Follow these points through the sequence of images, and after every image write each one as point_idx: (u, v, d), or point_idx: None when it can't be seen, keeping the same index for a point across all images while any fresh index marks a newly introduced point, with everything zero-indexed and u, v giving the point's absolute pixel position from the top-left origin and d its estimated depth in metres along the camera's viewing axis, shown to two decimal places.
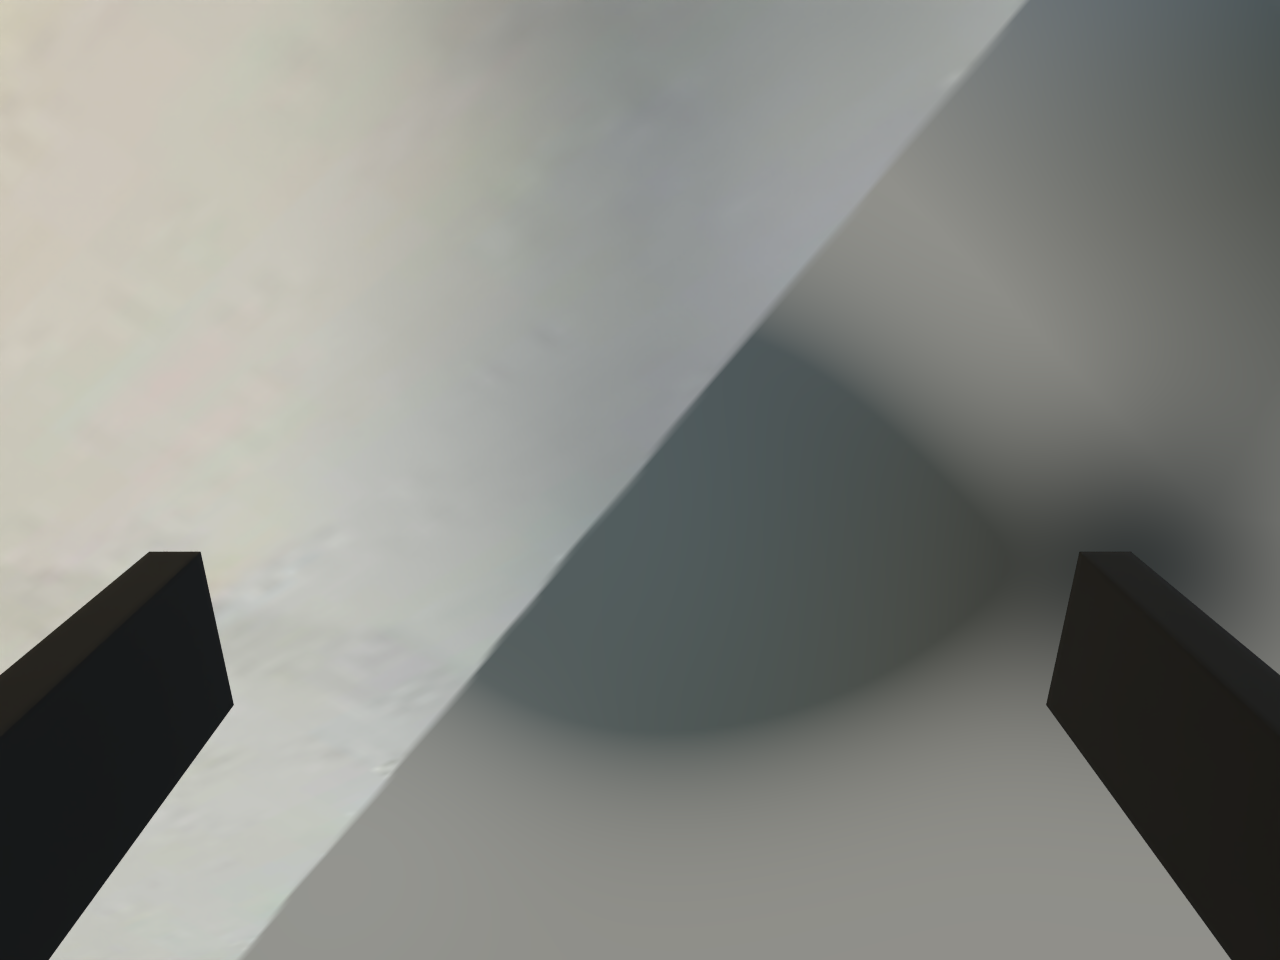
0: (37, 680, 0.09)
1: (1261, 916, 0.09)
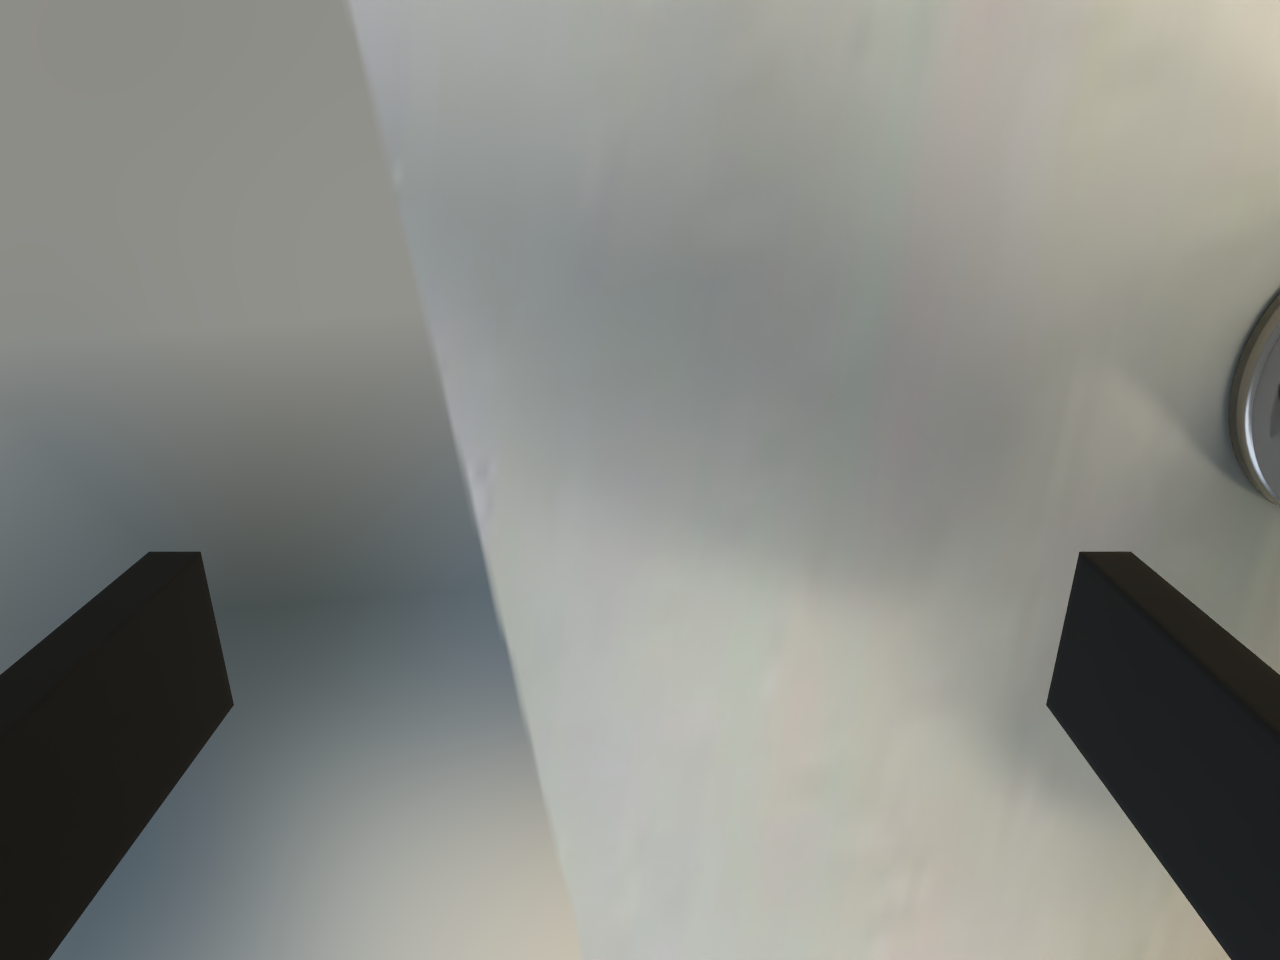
0: (37, 680, 0.09)
1: (1261, 917, 0.09)
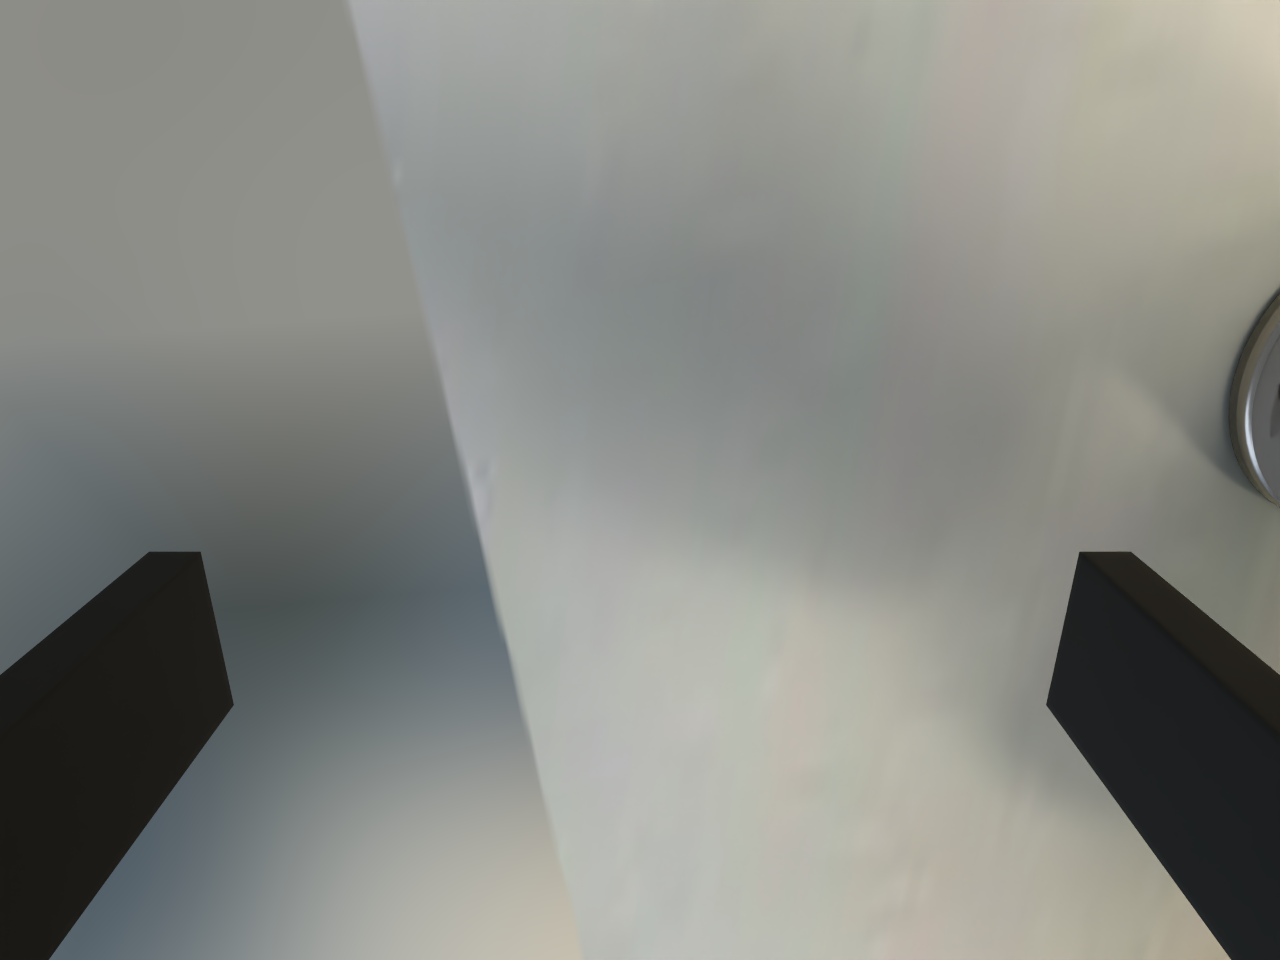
0: (37, 680, 0.09)
1: (1261, 917, 0.09)
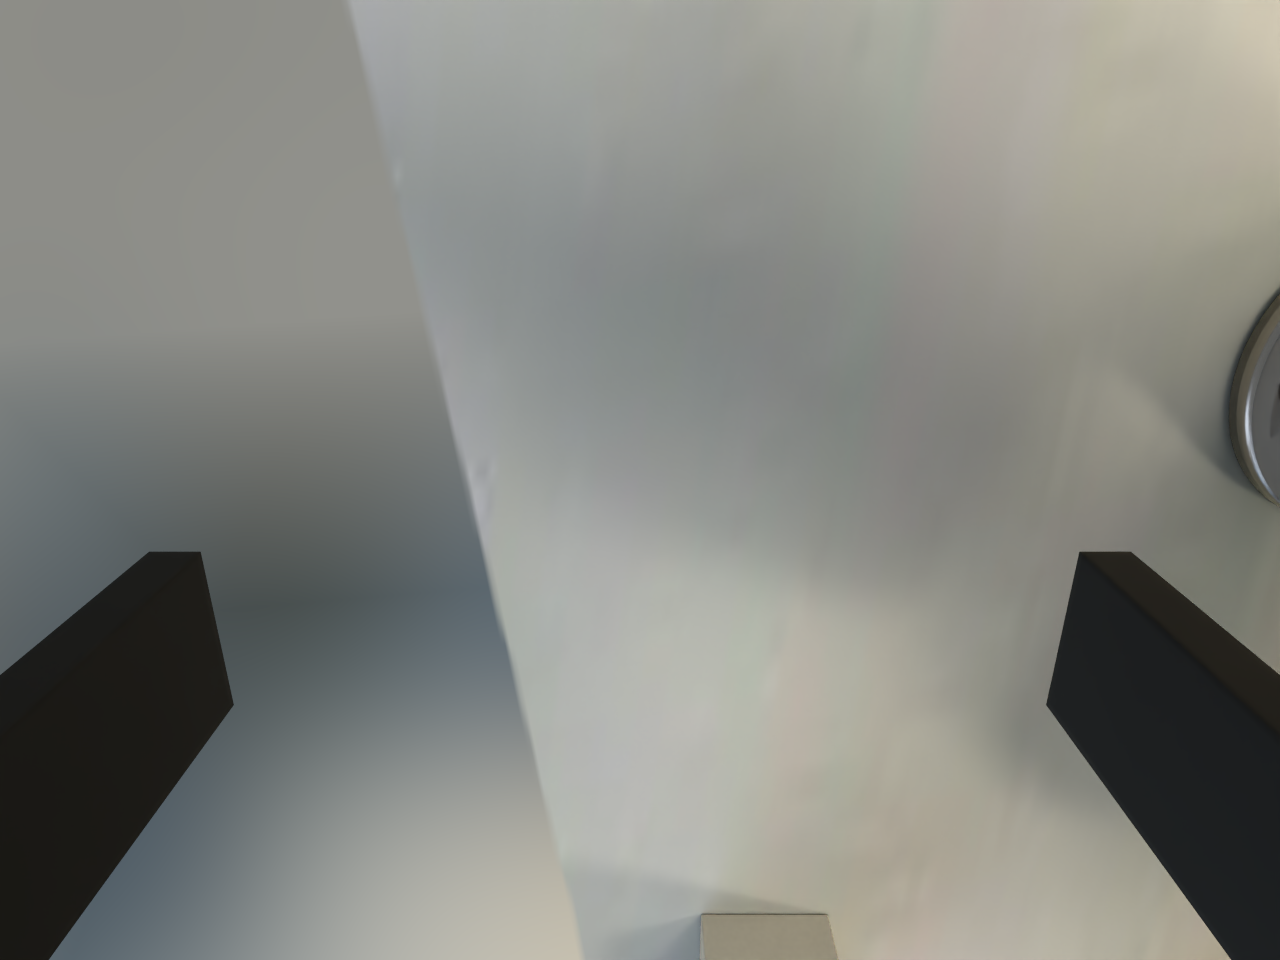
0: (37, 680, 0.09)
1: (1261, 917, 0.09)
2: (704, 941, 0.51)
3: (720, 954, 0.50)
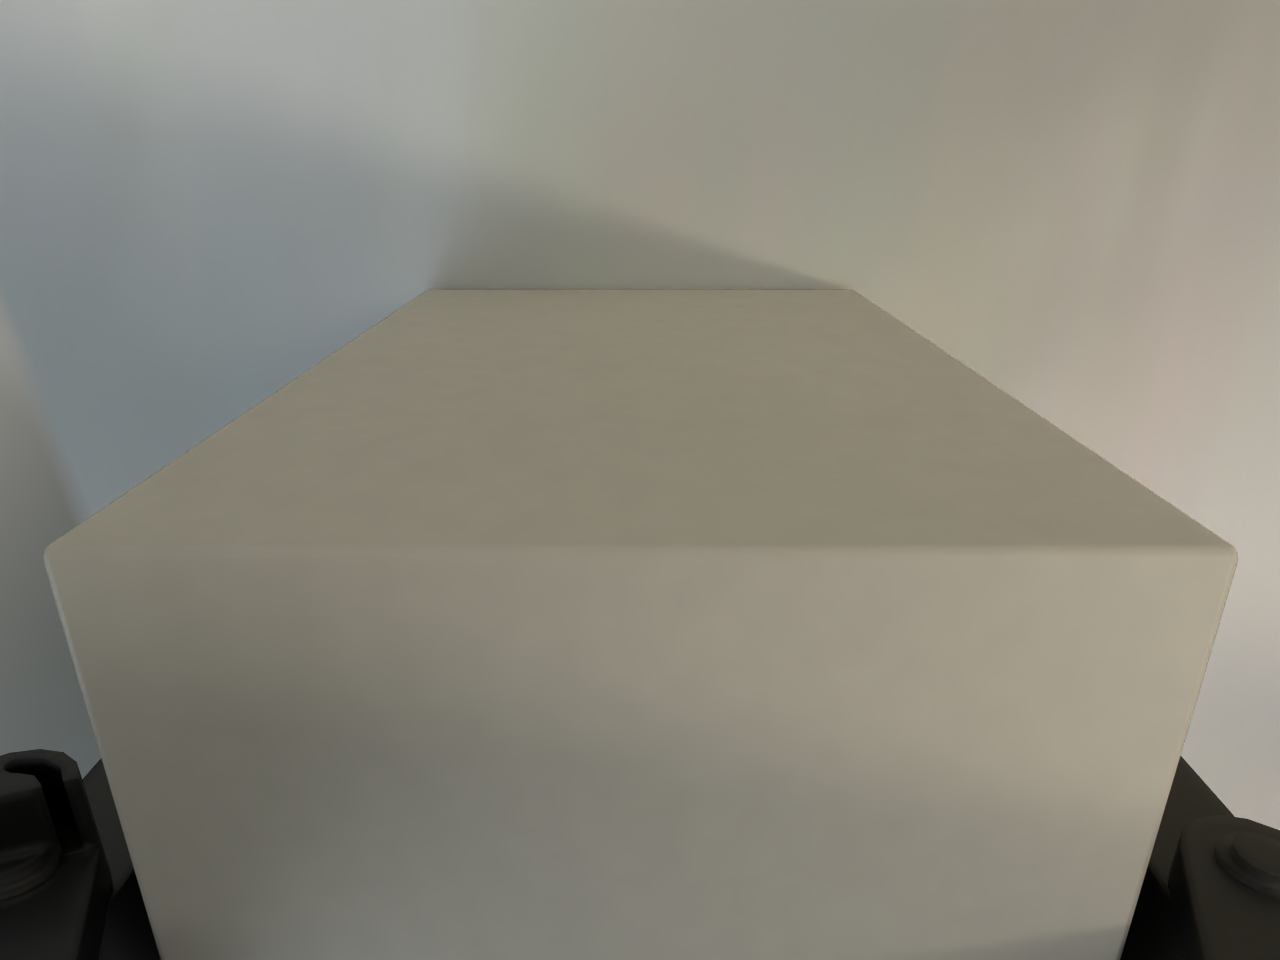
0: None
1: None
2: (401, 309, 0.14)
3: (443, 318, 0.13)
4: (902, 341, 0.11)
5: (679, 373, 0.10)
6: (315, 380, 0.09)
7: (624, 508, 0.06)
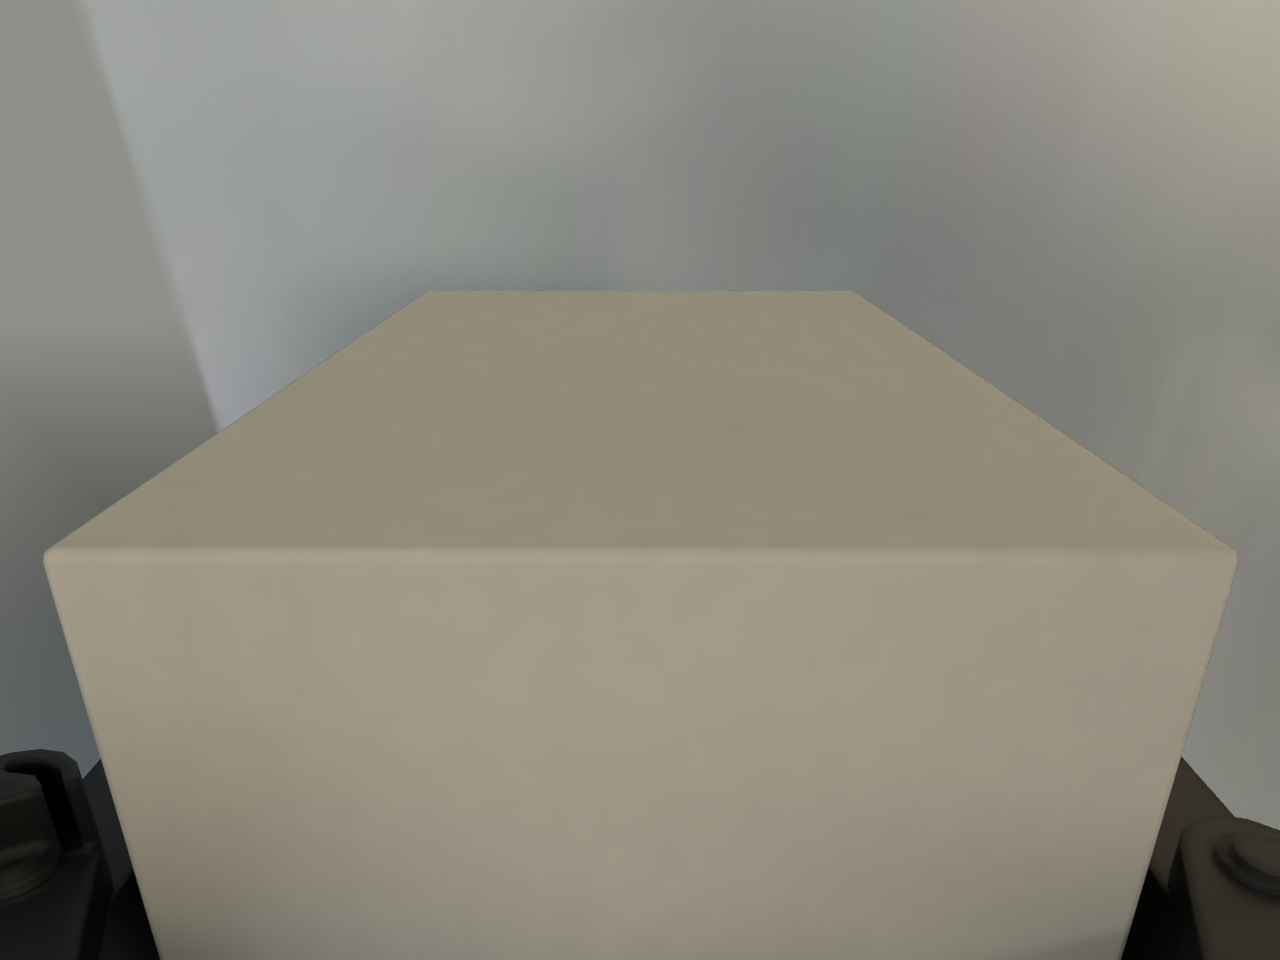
0: None
1: None
2: (401, 310, 0.14)
3: (443, 319, 0.13)
4: (902, 342, 0.11)
5: (679, 375, 0.10)
6: (315, 382, 0.09)
7: (624, 510, 0.06)
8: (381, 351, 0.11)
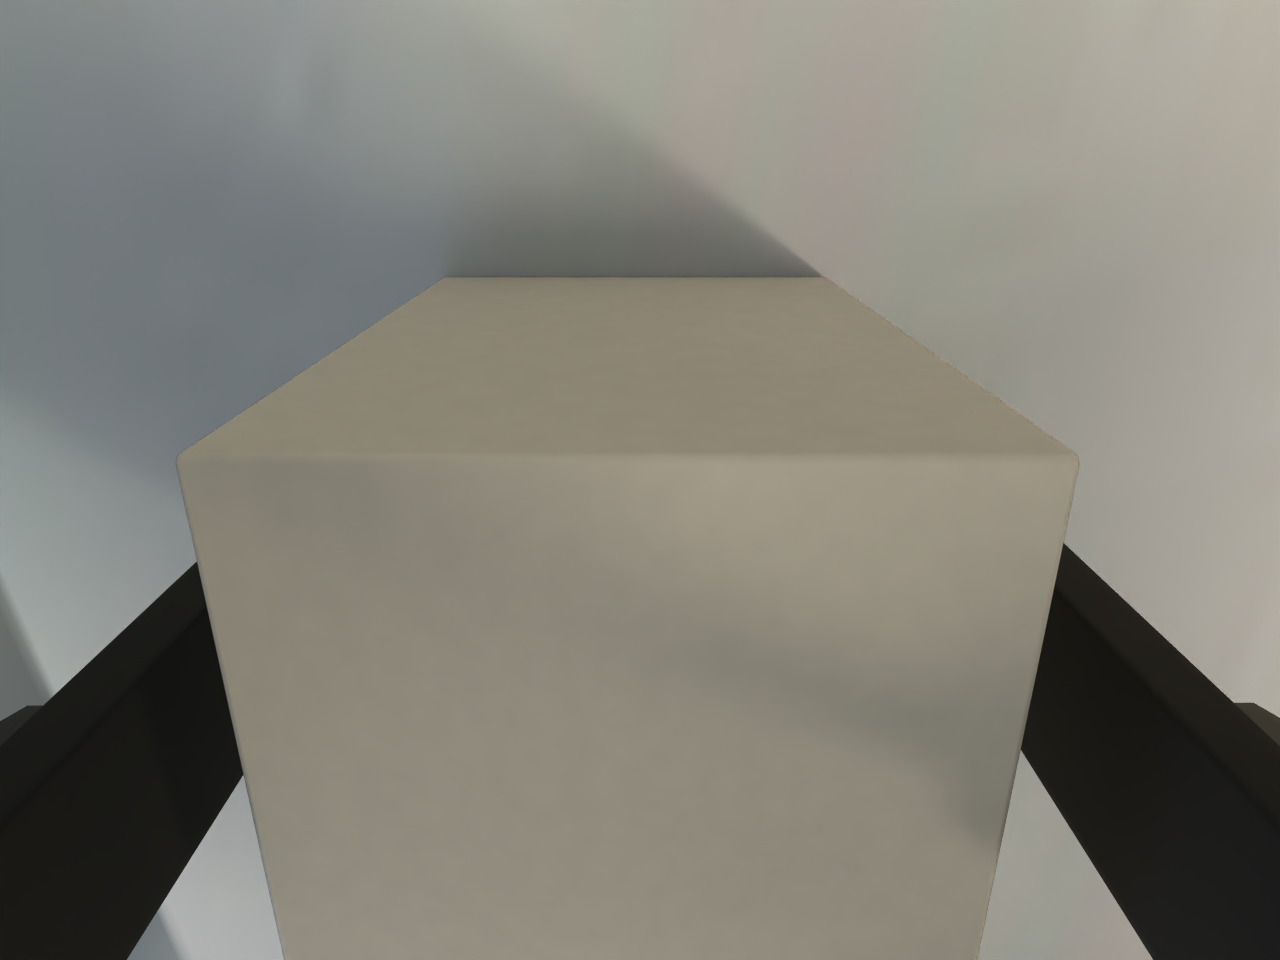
0: (145, 648, 0.10)
1: (1144, 867, 0.09)
2: (422, 293, 0.15)
3: (460, 299, 0.15)
4: (859, 317, 0.13)
5: (665, 341, 0.11)
6: (358, 346, 0.11)
7: (616, 430, 0.08)
8: (410, 324, 0.13)
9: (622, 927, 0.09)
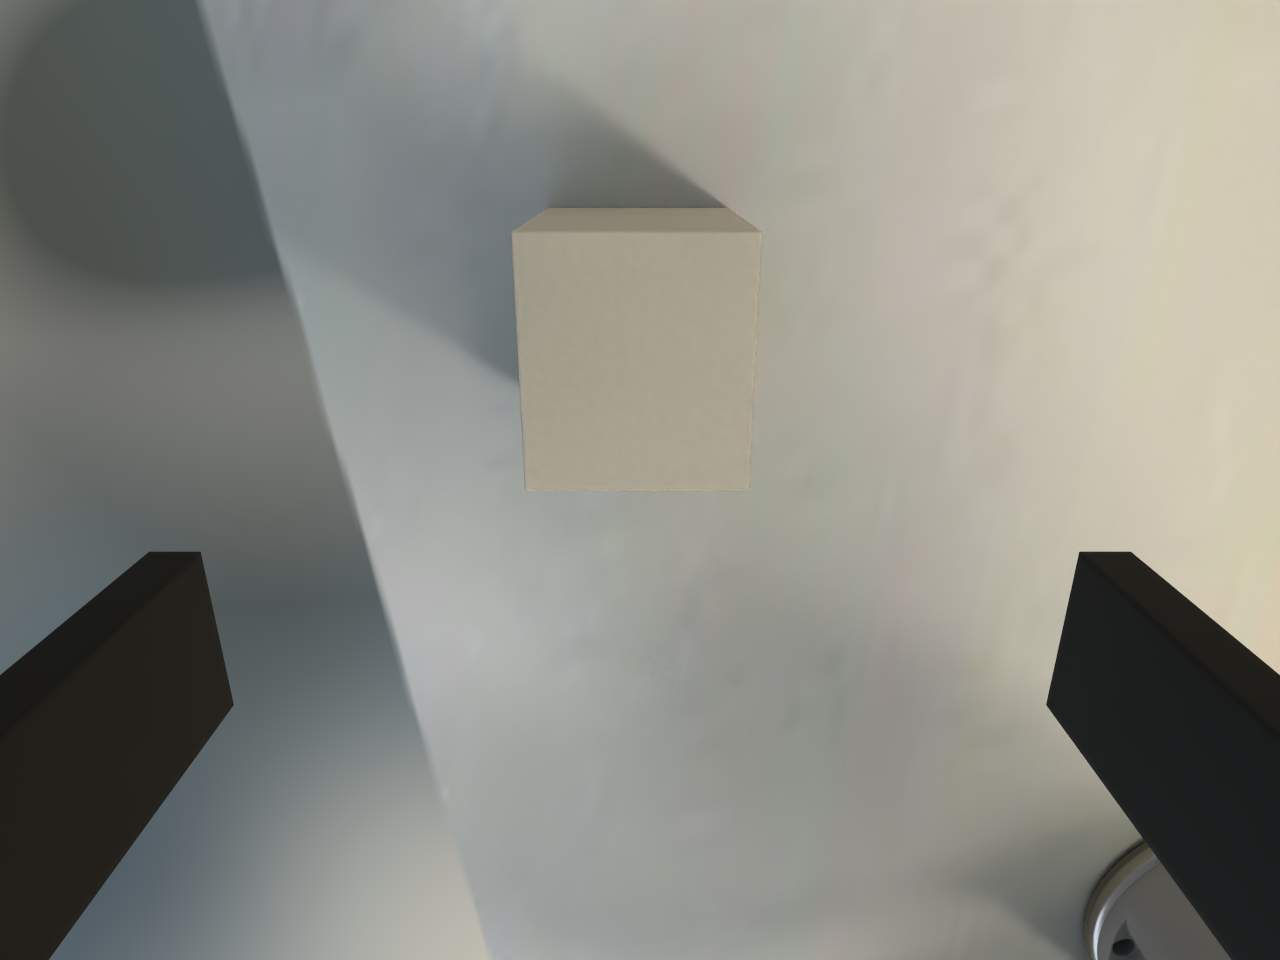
0: (37, 680, 0.09)
1: (1261, 917, 0.09)
2: None
3: (562, 212, 0.34)
4: (729, 215, 0.32)
5: (649, 219, 0.31)
6: (536, 219, 0.30)
7: (633, 229, 0.27)
8: (548, 216, 0.32)
9: (634, 401, 0.28)
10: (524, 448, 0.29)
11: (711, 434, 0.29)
